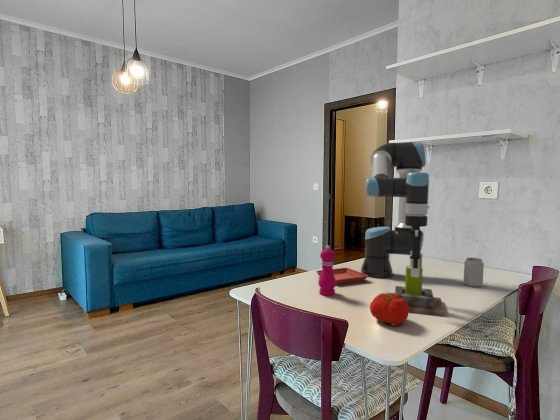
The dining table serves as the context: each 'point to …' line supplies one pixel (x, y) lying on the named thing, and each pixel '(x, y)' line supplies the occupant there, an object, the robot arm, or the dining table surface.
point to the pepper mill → (327, 273)
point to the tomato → (389, 308)
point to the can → (473, 272)
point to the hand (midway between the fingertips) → (414, 272)
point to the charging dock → (429, 311)
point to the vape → (414, 280)
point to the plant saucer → (346, 276)
